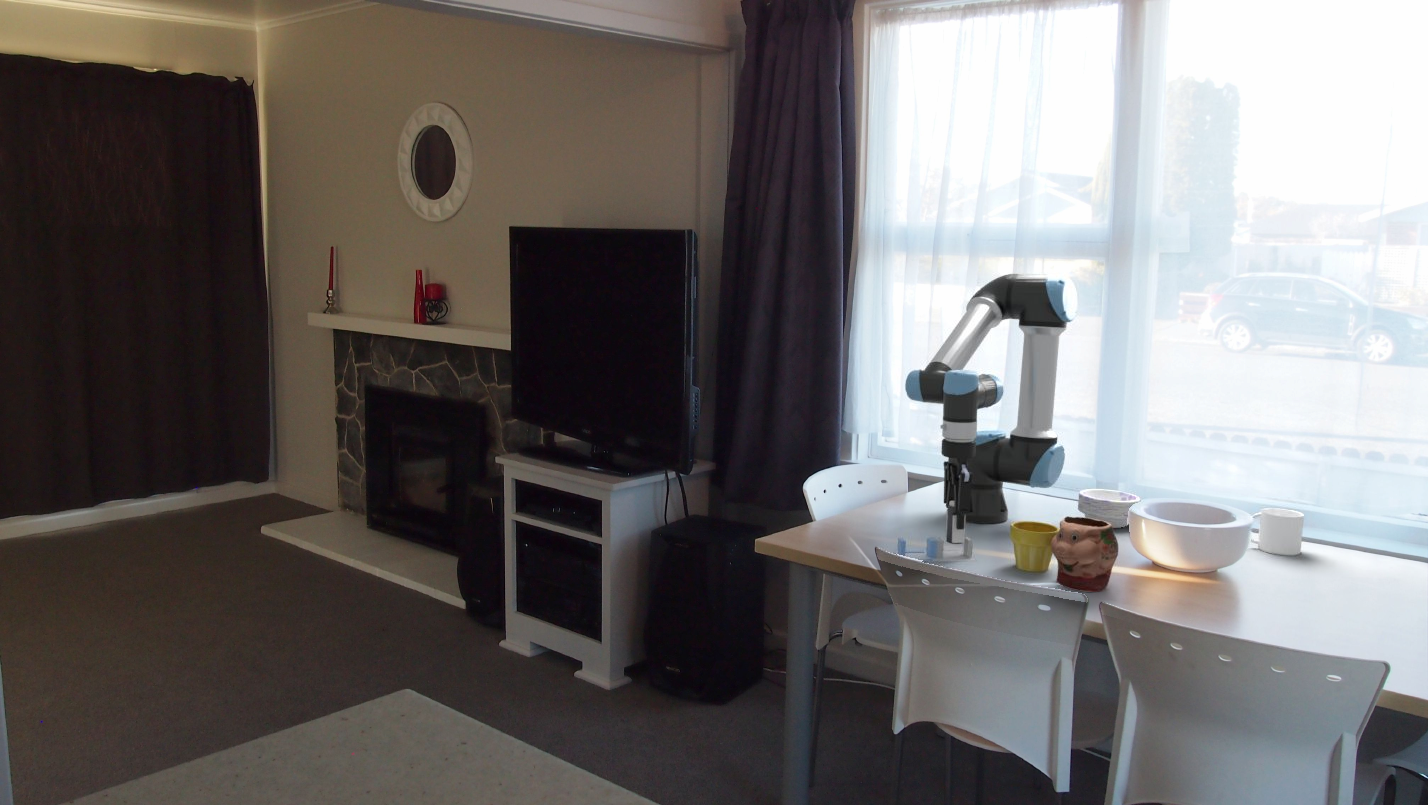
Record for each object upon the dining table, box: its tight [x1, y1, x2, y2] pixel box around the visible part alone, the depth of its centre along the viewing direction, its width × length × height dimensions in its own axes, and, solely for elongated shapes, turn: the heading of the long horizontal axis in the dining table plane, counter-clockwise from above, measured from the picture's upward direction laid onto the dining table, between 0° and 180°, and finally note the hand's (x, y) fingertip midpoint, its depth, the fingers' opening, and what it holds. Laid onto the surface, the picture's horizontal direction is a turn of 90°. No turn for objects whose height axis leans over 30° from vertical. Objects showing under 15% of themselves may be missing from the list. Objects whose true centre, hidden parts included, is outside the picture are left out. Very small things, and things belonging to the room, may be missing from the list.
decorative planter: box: [1051, 516, 1119, 593], centre depth 215 cm, size 20×12×14 cm, turn 135°
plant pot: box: [1009, 520, 1060, 573], centre depth 225 cm, size 10×10×10 cm
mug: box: [1250, 507, 1305, 557], centre depth 244 cm, size 12×9×9 cm
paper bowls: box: [1077, 488, 1142, 529], centre depth 267 cm, size 15×15×8 cm
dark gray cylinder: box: [946, 501, 963, 545], centre depth 233 cm, size 4×4×9 cm
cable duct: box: [893, 536, 977, 563], centre depth 233 cm, size 17×8×4 cm, turn 95°
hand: (955, 539), depth 233 cm, fingers closed on dark gray cylinder, 4 cm apart
